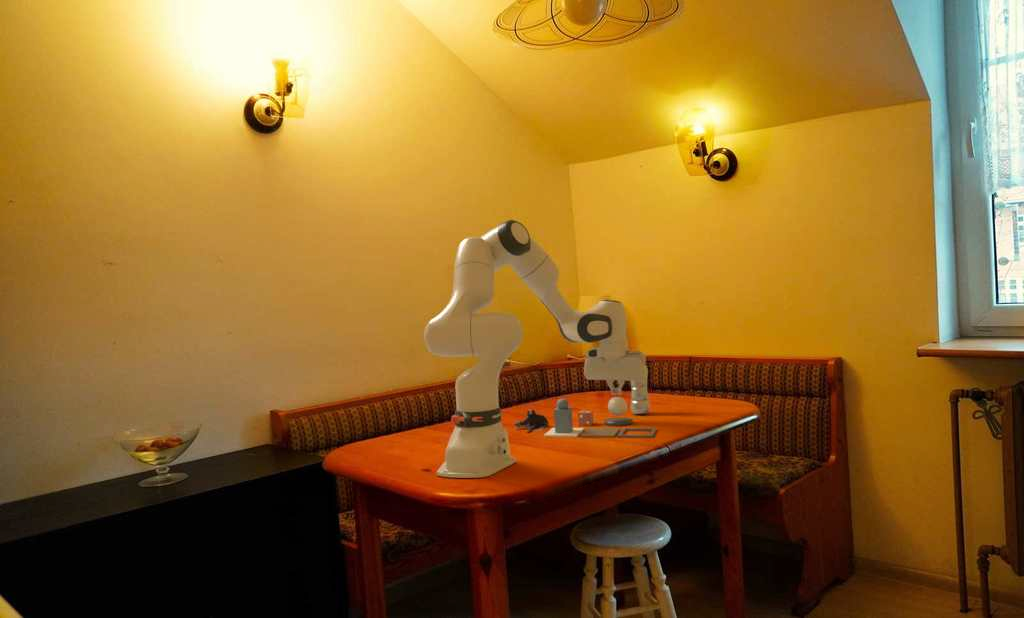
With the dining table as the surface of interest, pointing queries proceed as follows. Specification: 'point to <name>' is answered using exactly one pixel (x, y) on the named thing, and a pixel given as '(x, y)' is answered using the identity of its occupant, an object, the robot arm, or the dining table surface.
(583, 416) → the die
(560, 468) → the dining table surface
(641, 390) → the plastic bottle
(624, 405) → the white ball
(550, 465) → the dining table surface
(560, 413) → the pawn
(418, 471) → the dining table surface
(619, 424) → the base
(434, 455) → the dining table surface
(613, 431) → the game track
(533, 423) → the stuffed animal
